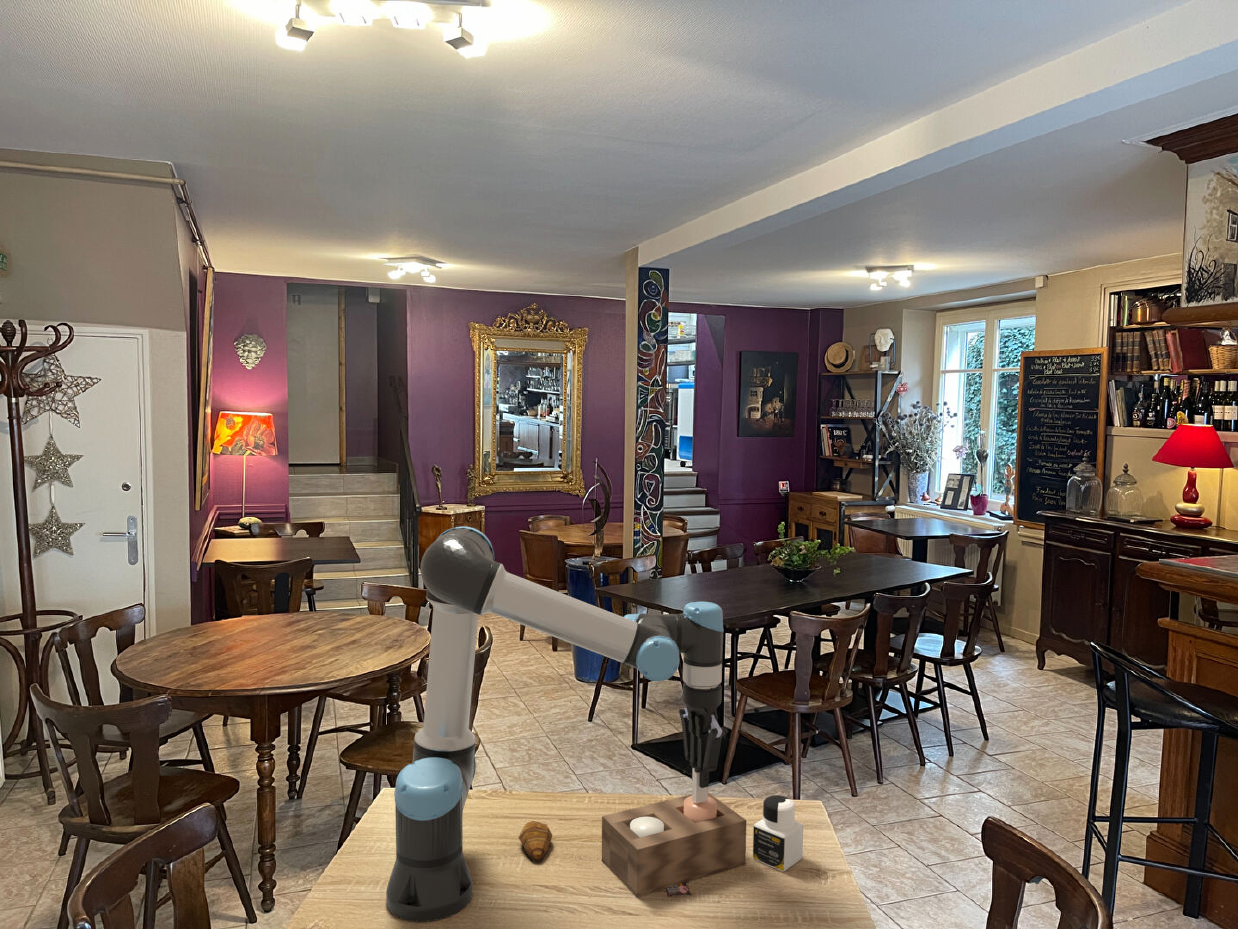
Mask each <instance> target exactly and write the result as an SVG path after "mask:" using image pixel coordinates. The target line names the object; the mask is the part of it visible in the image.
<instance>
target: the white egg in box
mask: <svg viewBox="0 0 1238 929" xmlns="http://www.w3.org/2000/svg"><path fill="white" fill-rule="evenodd" d="M630 829H631V830H632V831H633V832H634V833H635V834H637V835H638V836H639V837H644V836H648V835H652V834H656V833H659V832H663V831H664V824H663V822H662V821H661V820H659V819H657V818H653V817H639V818H636V819H634V820H632V821H631V823H630Z"/></svg>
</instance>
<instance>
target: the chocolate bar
mask: <svg viewBox="0 0 1238 929" xmlns="http://www.w3.org/2000/svg"><path fill="white" fill-rule="evenodd" d="M664 890H665V893H666V896H667V897H668V898H670V897H678V896H680V897H681V896H693V894H692V892H691V891H690V888H689V886H688V885H687V883H685V882H683V883H679V884H676V885H673V886H669V887H667V888H666V889H664Z"/></svg>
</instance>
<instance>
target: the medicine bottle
mask: <svg viewBox="0 0 1238 929" xmlns="http://www.w3.org/2000/svg"><path fill="white" fill-rule="evenodd" d="M795 806H796V804H795V802H794V800H792V799H791V798H789V797H787V796H784V795H779V794H777V795H776V794H775V795H769V796H767V797H766V798H765V799H764V800H763V808H762V819H760V820H759V821H757V822H755V823H754V824H753V830H752V831H753V834H752V835H753V836H752V838H753V840H752V859H753V860H755V861H756V862H759V863H761V864H764V865H766V866H769V867H771V868H773V869H775V870H777V871H780V872H782V873H784V872H785V871H787V870H788V869H790V868H791V867H793V866H794V865H795V864H797V863H798V862H799V861H800V860H802V859H803V858H804V857H803V856H804V849H803V848H804V823H802V822H799V821H797V820H795V815H796V814H795V811H796V807H795Z"/></svg>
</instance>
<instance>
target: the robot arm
mask: <svg viewBox="0 0 1238 929" xmlns="http://www.w3.org/2000/svg"><path fill="white" fill-rule="evenodd" d="M493 548H494V547H493V545H492V542H491V541H490V539H489V537H488V536H486V535H485V533H483V532H481V531H480V530H478V529H477V528H474V527H470V526H456V527H453V528H450V529H446V530H445V531H443V532H442V533H440V535H439V536H438V537H437V538H436V539H435V541H434V542H432V543H431V545H429V546H428V547H427V549H426V550H425V552H424V554H423V556H422V558H421V562H420V575H421V579H422V582H423V584H424V586H425V587H426V593H425V594H426V596H425V598H426V600H427V602H428V603H430V605H432V610H433V611H432V620H431V622H432V623H431V632H430V633H431V634H430V646H429V657H428V668H427V669H428V670H427V679H426V680H427V681H426V690H425V691H426V693H425V705H424V717H423V727H422V728H421V729H419V731H417V732H416V733H415V735H414V739H413V749H412V750H413V753H412V761H411V763H408V764H407V765H405V767H403V768H402V769H401V770H400V772H399V774H398V775H397V778H396V781H395V787H394V794H393V795H394V804H395V805H394V806H395V854H396V857H395V860H394V864H393V868H392V871H391V874H390V877H389V880H388V883H387V886H386V890H385V892H386V896H385V897H386V898H385V899H386V907H387V909H388V911H389V912H390V913H391V914H393V915H394V916H396V917H398V918H399V919H402V920H405V921H409V922H411V921H412V922H422V923H423V922H432V921H433V922H434V921H439V920H441V919H447V918H449V917H451V916H453V915H455V914H458V913H459V912H460V911H462V910H463V909H465V908H466V906H467V905H469V903H470V902H471V900H472V898H473V894H474V892H473V891H474V890H473V886H474V885H473V884H474V882H473V878H472V875H471V872H470V869H469V866H468V863H467V860H466V858H465V855H464V851H463V848H464V847H463V842H464V841H463V840H464V839H463V833H464V832H463V826H464V825H463V817H464V815H463V813H464V807H465V805H466V801H467V797H468V795H469V791H470V788H471V786H472V783H473V780H474V779H475V778H474V777H475V775H476V768H477V762H476V756H475V752H476V751H475V750H476V736H475V734H474V733H473V732H472V730H470V728H469V727H470V716H471V715H470V713H471V706H472V704H471V703H472V696H473V695H472V693H473V680H474V670H475V659H476V649H477V647H476V646H477V637H478V636H477V634H478V627H479V626H478V625H479V624H478V623H479V616H484V615H486V614H489V613H490V614H494V615H495V616H498V617H501V618H504V619H506V620H509V621H512V622H514V623H517V624H519V625H522V626H525V627H527V628H530V629H533V630H535V631H538V632H541V633H543V634H545V635H548V636H550V637H554V638H557V639H559V640H562V641H564V642H566V643H569V644H571V645H572V644H573V645H575V646H577V647H580V648H583V649H585V650H588V651H590V652H592V653H593V652H594V653H595V654H599V655H601V656H604V657H607V658H609V659H611V660H615V661H617V662H619V663H622V664H625V665H627V666H630V667H632V668H634V669H637V670H638V671H639V673H641V675H642V676H643V677H644V678H646V679H647V680H650V681H653V682H657V683H659V682H664V681H667V680H669V679H670V678H672V677H673V676H674V675H675V673H676V672H677V671H678V669H679V666H680V654H683V657H682V658H683V661H682V662H683V663H682V681H683V684H682V702H683V703H684V704H685V705H686V707H685V708H680V709H678V714H679V716H680V720H681V729H682V737H683V748H684V750H683V751H684V757H685V758H684V759H685V760H686V761H689V764H690V766H691V783H692V786H691V794H692V801H693V802H694V803H696V804H697V803H701V802H705V801H708V793H709V786H710V784H709V783H710V772H714V771H717V767H718V762H719V757H720V751H721V746H722V740H723V737H724V735H725V734H726V728H725V727H724V726H720V724H719V723H718V713H717V708H718V707H719V706H720V705H721V703H722V694H723V692H722V691H723V686H722V685H721V683H722V681H723V680H722V678H723V676H722V674H723V671H722V669H723V651H724V649H723V645H724V619H723V618H724V617H723V616H724V615H723V609H722V608H721V606H720V605H718V604H717V603H714V602H710V601H696V602H695V601H694V602H693V601H692V602H689V603H687V604H685V605H684V608H683V609H684V610H683V611H682V613H678V614H677V613H676V614H675V613H642V612H639V613H629V614H626V615H624V616H621V615H618V614H616V613H614V612H610V611H608V610H605V609H604V608H601V607H597V606H595V605H593V604H590V603H587V602H585V601H582V600H580V599H577V598H575V597H573V596H570V595H567V594H564V593H561V592H559V591H557V590H554V589H551V588H549V587H547V586H543V585H542V584H538V583H537V582H534V581H531V580H528V579H526V578H523V577H521V576H518V575H515V574H514V573H513V574H512V573H510V572H508V571H507V570H506V569H505V566H504V565H503V563H500V562H498V561H495V552H494V549H493Z"/></svg>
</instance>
